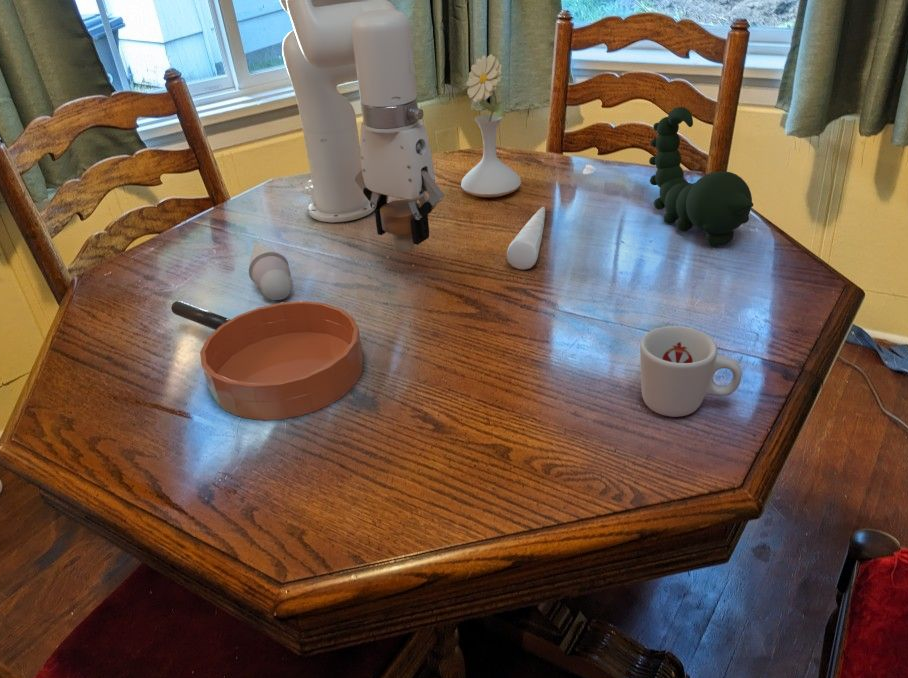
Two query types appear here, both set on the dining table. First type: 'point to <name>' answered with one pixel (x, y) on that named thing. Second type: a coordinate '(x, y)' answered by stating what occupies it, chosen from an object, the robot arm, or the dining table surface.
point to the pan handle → (198, 315)
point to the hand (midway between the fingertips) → (403, 235)
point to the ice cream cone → (270, 272)
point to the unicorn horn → (527, 242)
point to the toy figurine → (696, 188)
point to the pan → (283, 360)
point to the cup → (681, 370)
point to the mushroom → (398, 224)
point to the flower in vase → (488, 135)
